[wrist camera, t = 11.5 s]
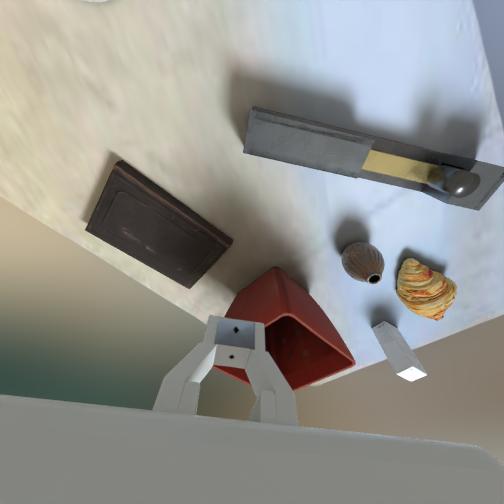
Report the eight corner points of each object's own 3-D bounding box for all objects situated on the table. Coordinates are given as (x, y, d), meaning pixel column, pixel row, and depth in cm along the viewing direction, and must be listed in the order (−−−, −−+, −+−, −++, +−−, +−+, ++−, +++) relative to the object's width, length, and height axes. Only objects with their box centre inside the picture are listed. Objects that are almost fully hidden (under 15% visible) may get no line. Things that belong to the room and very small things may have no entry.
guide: (244, 151, 33) (241, 157, 28) (251, 106, 30) (250, 104, 25) (448, 197, 37) (478, 210, 32) (475, 161, 33) (513, 169, 28)
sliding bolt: (319, 159, 33) (333, 169, 26) (327, 136, 31) (344, 142, 25) (445, 188, 35) (486, 204, 29) (459, 168, 33) (506, 180, 27)
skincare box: (370, 328, 56) (395, 374, 46) (384, 319, 55) (413, 366, 45) (384, 336, 58) (411, 382, 48) (398, 328, 56) (429, 375, 46)
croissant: (381, 253, 48) (380, 281, 43) (439, 242, 40) (445, 274, 36) (413, 305, 56) (415, 333, 51) (466, 304, 49) (473, 336, 44)
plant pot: (330, 295, 50) (359, 366, 36) (271, 330, 58) (275, 399, 44) (278, 246, 43) (288, 311, 29) (218, 293, 51) (203, 362, 37)
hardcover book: (192, 282, 50) (189, 289, 48) (92, 225, 42) (84, 230, 40) (233, 238, 43) (232, 244, 41) (123, 159, 35) (116, 161, 33)
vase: (345, 234, 41) (364, 260, 34) (378, 239, 42) (404, 266, 34) (332, 262, 45) (347, 291, 37) (363, 266, 45) (383, 296, 38)
